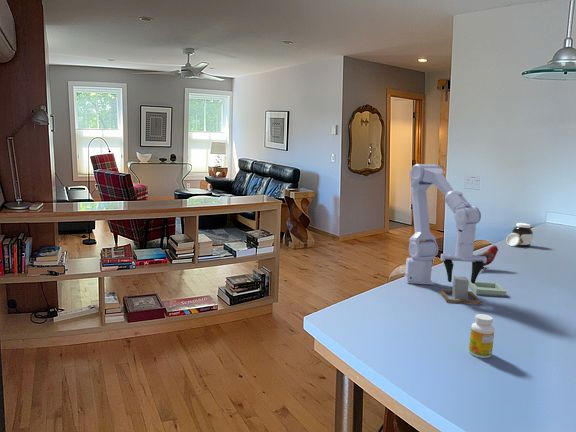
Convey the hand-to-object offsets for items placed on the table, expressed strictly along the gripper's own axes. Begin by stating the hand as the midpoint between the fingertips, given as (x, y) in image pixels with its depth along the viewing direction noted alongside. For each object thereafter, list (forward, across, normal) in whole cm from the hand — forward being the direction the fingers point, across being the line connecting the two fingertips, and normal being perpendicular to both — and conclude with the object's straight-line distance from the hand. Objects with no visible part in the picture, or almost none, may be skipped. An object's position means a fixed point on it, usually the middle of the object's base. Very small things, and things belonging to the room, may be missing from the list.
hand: (461, 282), depth 161 cm
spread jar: (+6, +55, +98) cm, 112 cm away
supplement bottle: (+6, -6, -44) cm, 45 cm away
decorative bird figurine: (+6, +19, +41) cm, 46 cm away
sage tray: (+6, +12, +10) cm, 17 cm away
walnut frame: (+6, 0, 0) cm, 6 cm away
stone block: (+6, 0, 0) cm, 6 cm away
